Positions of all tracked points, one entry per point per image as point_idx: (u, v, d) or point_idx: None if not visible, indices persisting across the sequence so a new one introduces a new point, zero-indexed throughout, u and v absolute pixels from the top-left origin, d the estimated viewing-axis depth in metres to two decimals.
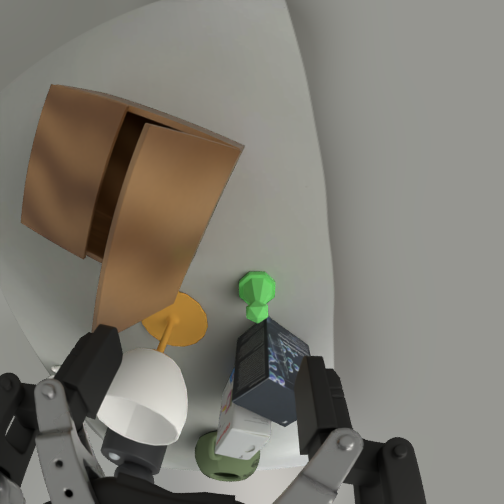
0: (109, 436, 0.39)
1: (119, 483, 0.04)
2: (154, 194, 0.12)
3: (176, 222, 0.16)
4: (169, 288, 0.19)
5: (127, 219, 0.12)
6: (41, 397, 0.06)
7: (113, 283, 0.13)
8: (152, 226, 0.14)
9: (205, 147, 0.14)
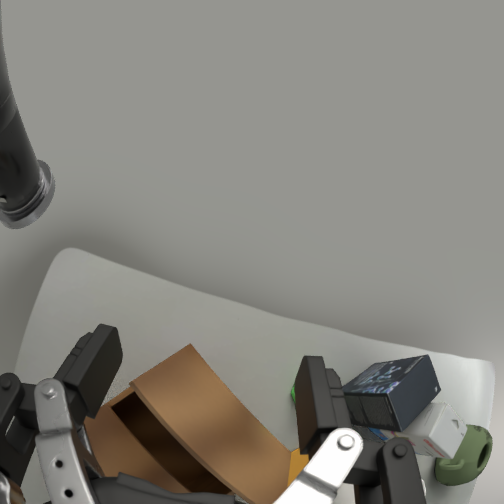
0: None
1: (119, 483, 0.04)
2: (183, 411, 0.14)
3: (217, 412, 0.16)
4: (273, 448, 0.17)
5: (189, 437, 0.12)
6: (41, 397, 0.06)
7: (235, 477, 0.12)
8: (208, 427, 0.14)
9: (172, 362, 0.17)
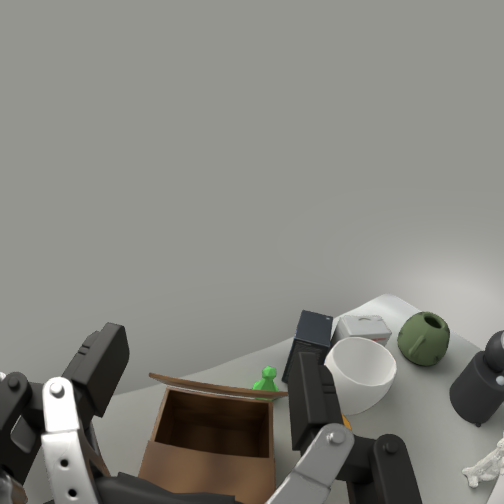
0: (489, 401, 0.29)
1: (119, 483, 0.04)
2: None
3: None
4: None
5: None
6: (49, 395, 0.06)
7: None
8: None
9: None
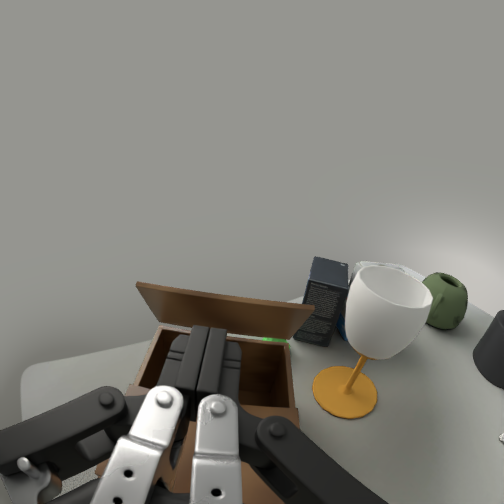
0: None
1: (119, 483, 0.04)
2: None
3: None
4: None
5: None
6: (152, 401, 0.07)
7: None
8: None
9: None
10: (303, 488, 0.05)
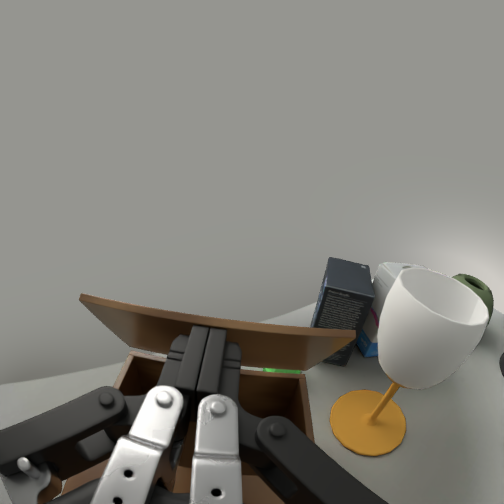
0: None
1: (119, 483, 0.04)
2: None
3: None
4: None
5: None
6: (152, 401, 0.07)
7: None
8: None
9: None
10: (303, 488, 0.05)
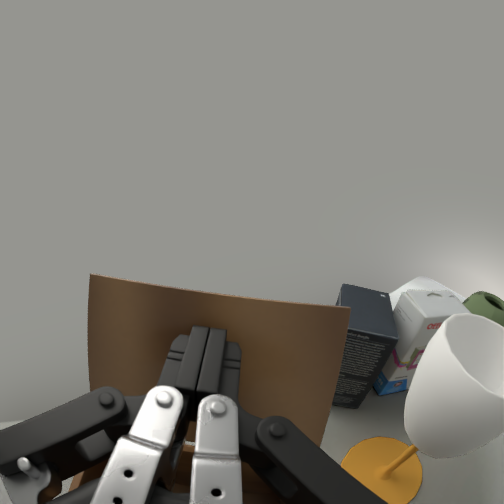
0: None
1: (119, 483, 0.04)
2: None
3: None
4: None
5: None
6: (152, 401, 0.07)
7: None
8: None
9: None
10: (303, 488, 0.05)
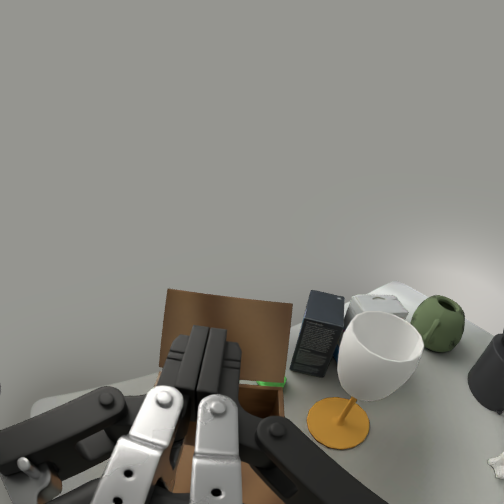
0: None
1: (119, 483, 0.04)
2: None
3: None
4: None
5: None
6: (152, 401, 0.07)
7: None
8: None
9: None
10: (303, 488, 0.05)
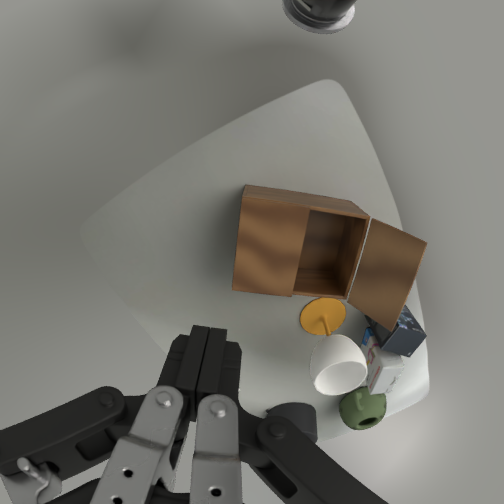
0: None
1: (119, 483, 0.04)
2: None
3: None
4: None
5: None
6: (152, 401, 0.07)
7: None
8: None
9: None
10: (303, 488, 0.05)
